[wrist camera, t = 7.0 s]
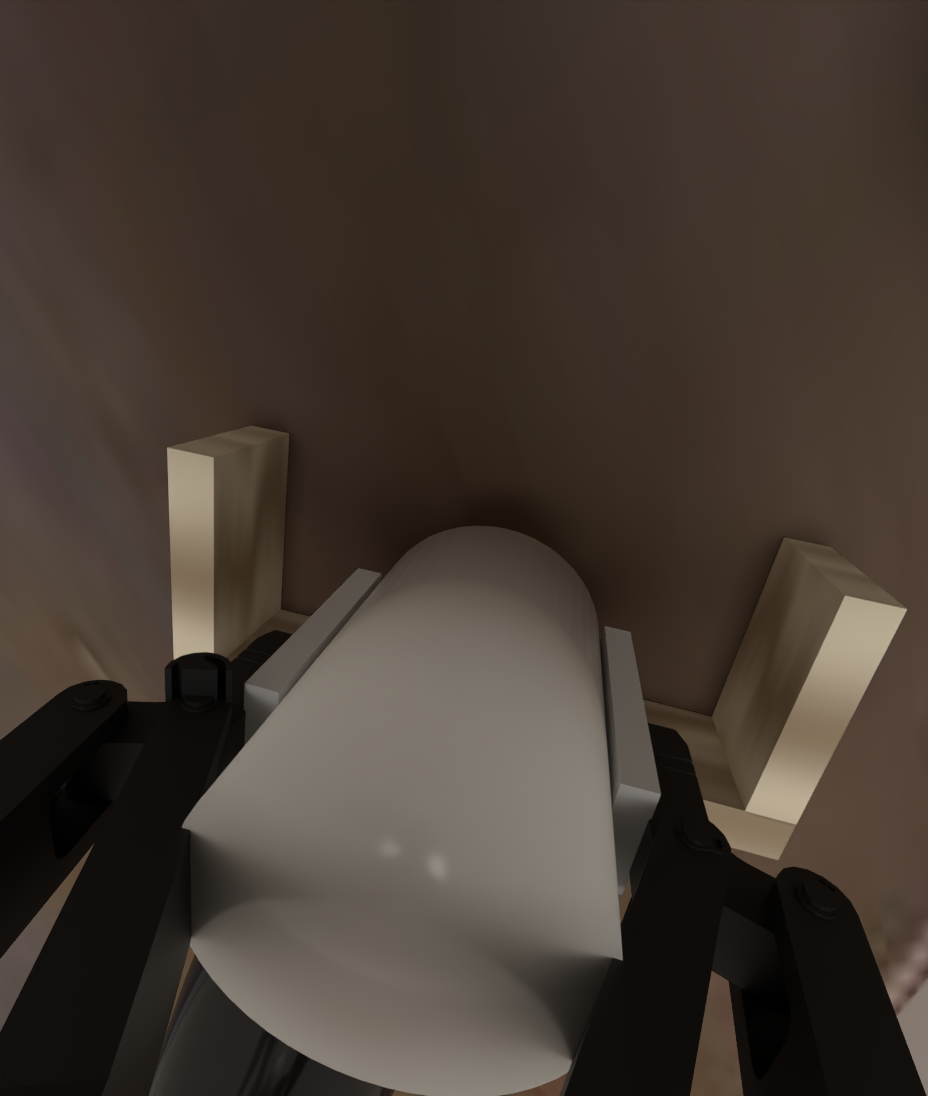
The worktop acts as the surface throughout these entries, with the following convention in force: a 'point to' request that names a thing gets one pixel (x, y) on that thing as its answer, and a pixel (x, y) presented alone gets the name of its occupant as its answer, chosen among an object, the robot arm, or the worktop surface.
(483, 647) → the white domed cylinder
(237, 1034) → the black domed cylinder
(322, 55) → the worktop surface
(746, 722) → the rest cradle
